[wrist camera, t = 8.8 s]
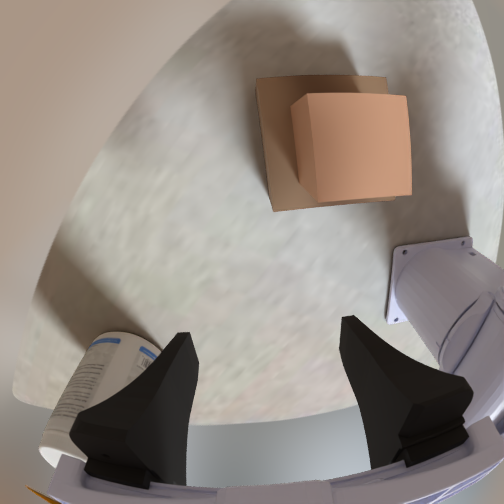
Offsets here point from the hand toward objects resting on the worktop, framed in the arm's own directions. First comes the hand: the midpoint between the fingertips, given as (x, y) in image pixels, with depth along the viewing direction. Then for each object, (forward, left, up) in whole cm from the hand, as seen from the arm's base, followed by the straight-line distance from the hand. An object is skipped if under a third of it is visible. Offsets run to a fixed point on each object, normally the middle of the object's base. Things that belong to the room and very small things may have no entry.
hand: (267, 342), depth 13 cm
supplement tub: (+15, +11, -10) cm, 21 cm away
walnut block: (-5, -8, -10) cm, 14 cm away
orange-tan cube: (-5, -8, -6) cm, 12 cm away
